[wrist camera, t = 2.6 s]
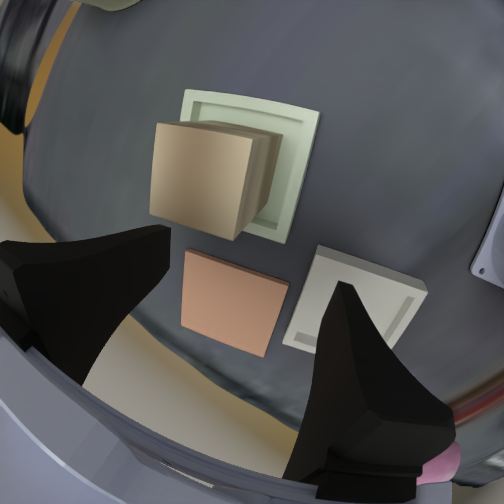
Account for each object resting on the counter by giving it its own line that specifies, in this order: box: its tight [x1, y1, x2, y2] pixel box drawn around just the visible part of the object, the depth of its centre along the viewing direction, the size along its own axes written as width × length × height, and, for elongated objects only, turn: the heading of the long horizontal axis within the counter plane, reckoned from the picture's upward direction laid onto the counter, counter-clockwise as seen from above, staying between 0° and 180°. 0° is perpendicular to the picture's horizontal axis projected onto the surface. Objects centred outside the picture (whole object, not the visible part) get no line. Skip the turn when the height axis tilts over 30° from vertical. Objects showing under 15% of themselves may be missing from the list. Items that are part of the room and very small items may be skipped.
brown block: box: [150, 120, 283, 241], centre depth 14 cm, size 4×4×6 cm
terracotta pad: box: [181, 248, 289, 357], centre depth 22 cm, size 8×8×1 cm
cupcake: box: [417, 441, 461, 485], centre depth 18 cm, size 9×9×10 cm
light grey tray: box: [282, 244, 428, 354], centre depth 18 cm, size 8×8×2 cm
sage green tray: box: [180, 89, 321, 244], centre depth 16 cm, size 8×8×2 cm
